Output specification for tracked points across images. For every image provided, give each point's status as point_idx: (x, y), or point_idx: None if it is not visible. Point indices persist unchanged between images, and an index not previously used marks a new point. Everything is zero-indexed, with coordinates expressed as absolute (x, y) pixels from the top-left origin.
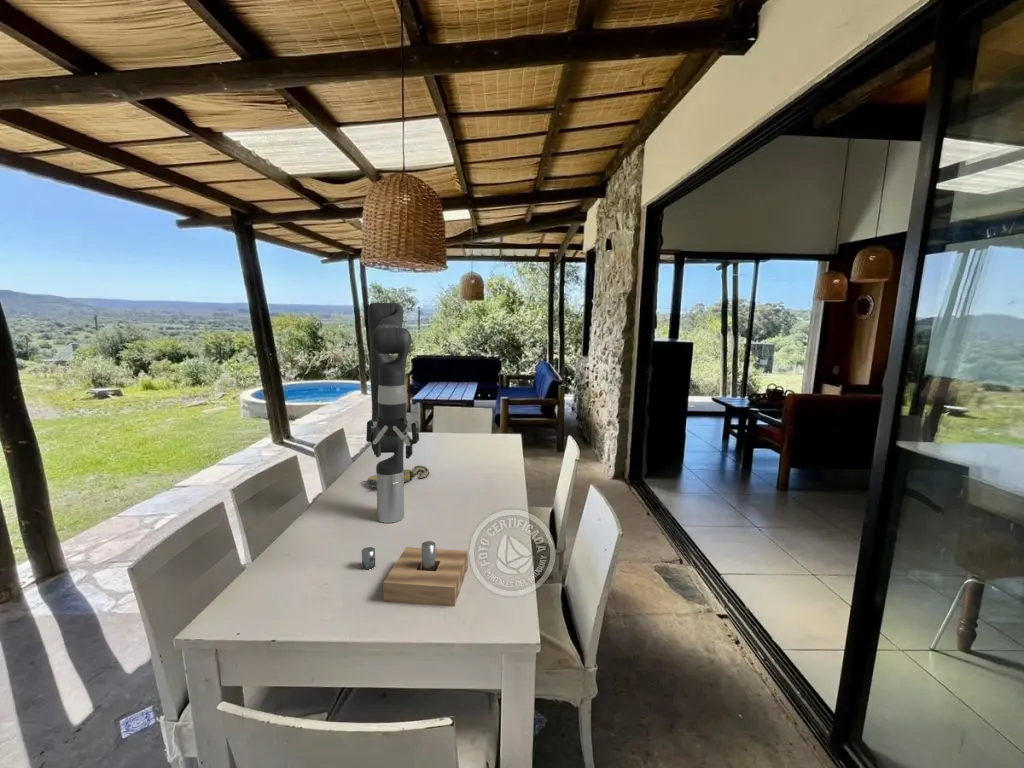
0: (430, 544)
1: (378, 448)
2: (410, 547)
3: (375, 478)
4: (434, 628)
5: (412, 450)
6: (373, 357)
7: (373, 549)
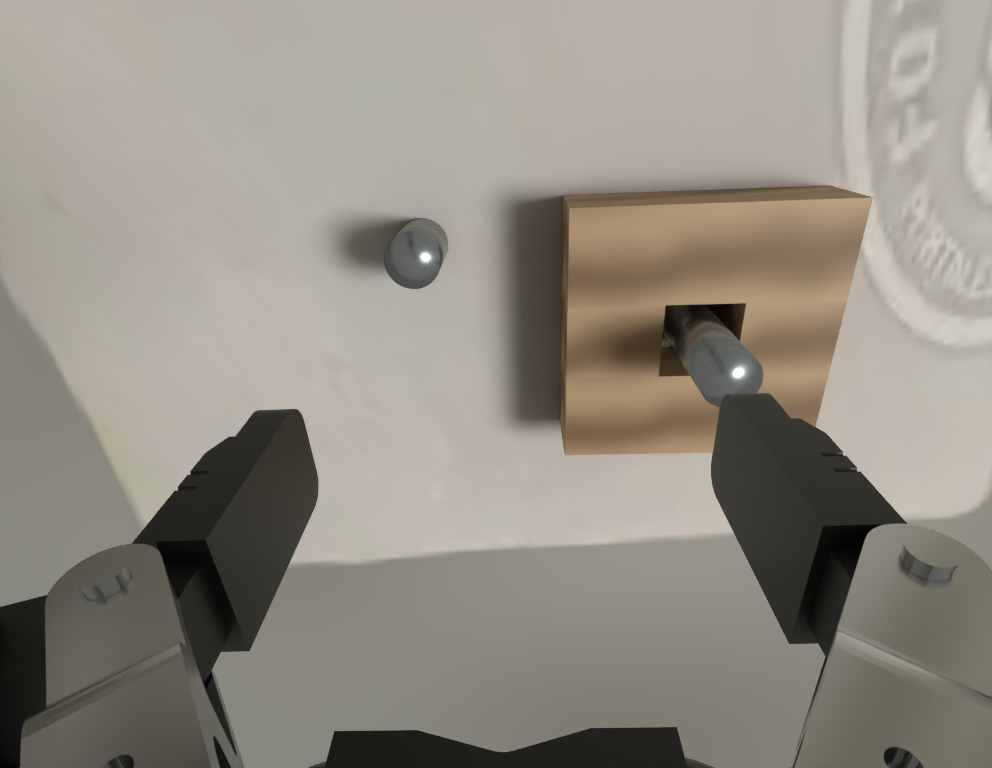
0: (740, 380)
1: (270, 575)
2: (590, 209)
3: None
4: None
5: (854, 465)
6: None
7: (431, 252)
